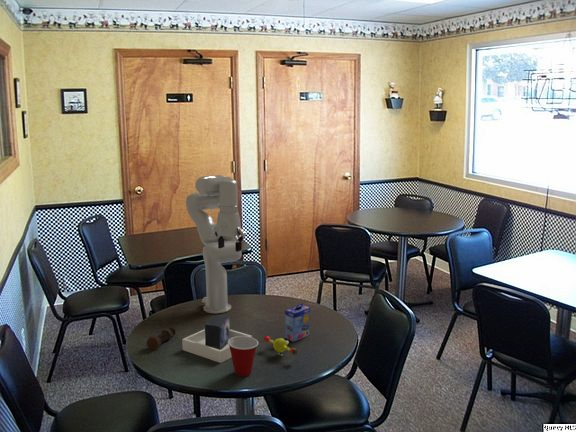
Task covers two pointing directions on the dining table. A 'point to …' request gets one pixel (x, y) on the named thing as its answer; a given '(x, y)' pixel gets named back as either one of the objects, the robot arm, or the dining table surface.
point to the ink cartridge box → (297, 322)
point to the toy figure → (280, 345)
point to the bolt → (160, 338)
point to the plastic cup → (242, 354)
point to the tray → (198, 346)
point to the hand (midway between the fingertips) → (229, 249)
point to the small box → (217, 332)
